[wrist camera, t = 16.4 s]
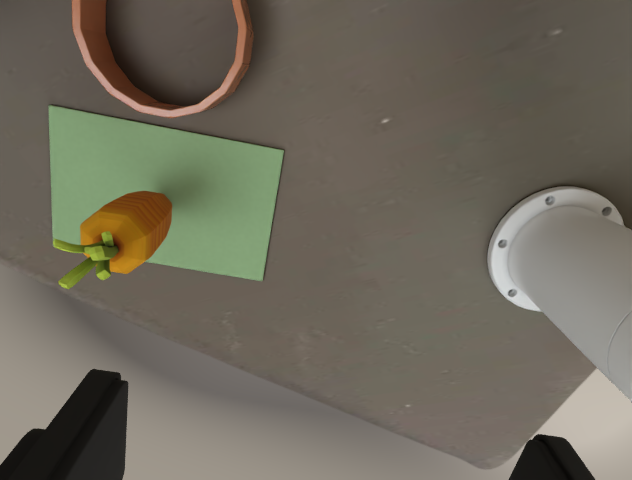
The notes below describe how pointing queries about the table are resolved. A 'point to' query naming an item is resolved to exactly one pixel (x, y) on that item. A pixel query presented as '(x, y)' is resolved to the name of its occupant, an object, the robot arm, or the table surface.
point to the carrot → (120, 235)
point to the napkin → (168, 187)
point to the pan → (102, 64)
